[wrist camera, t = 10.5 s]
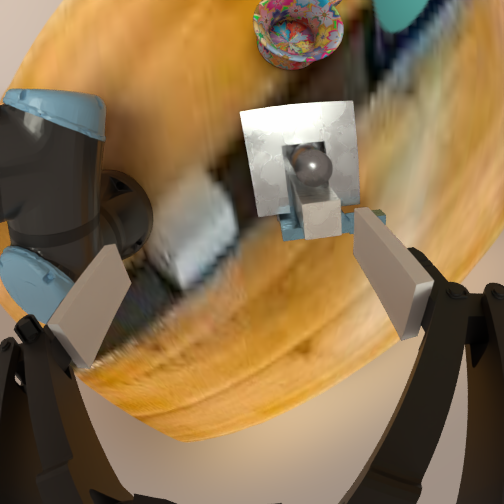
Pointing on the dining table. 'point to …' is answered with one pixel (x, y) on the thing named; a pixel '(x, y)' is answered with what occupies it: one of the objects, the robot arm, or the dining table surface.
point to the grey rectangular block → (316, 209)
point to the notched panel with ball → (302, 158)
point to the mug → (297, 31)
